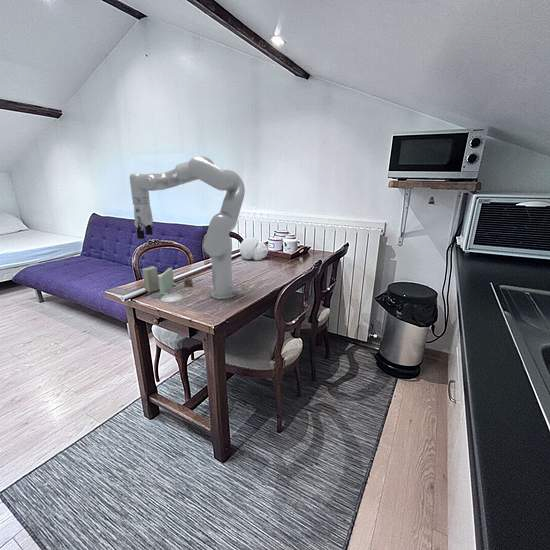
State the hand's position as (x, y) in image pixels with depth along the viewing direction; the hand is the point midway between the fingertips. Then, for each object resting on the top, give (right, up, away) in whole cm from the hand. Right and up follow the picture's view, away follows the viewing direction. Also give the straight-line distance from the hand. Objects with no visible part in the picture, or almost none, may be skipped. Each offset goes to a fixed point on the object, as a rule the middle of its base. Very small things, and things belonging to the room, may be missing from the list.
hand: (145, 236), depth 149 cm
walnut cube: (+17, -25, +16) cm, 34 cm away
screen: (+8, -27, +9) cm, 29 cm away
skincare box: (0, -27, +9) cm, 29 cm away
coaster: (+14, -30, -2) cm, 33 cm away
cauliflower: (+49, -7, +69) cm, 85 cm away
